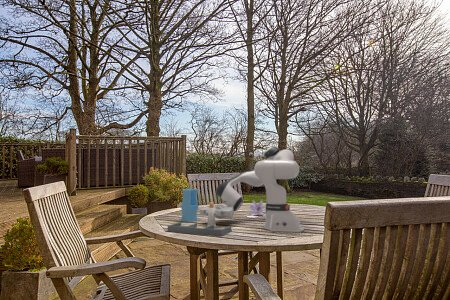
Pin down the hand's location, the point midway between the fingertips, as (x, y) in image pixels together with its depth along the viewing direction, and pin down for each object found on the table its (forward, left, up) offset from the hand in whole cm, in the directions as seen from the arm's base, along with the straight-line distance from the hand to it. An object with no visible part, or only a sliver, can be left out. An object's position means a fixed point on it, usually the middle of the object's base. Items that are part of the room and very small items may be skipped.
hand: (210, 214), depth 207 cm
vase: (+22, -15, -8) cm, 28 cm away
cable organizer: (0, +14, -8) cm, 16 cm away
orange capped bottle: (0, -1, -8) cm, 8 cm away
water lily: (-10, -56, -8) cm, 57 cm away
